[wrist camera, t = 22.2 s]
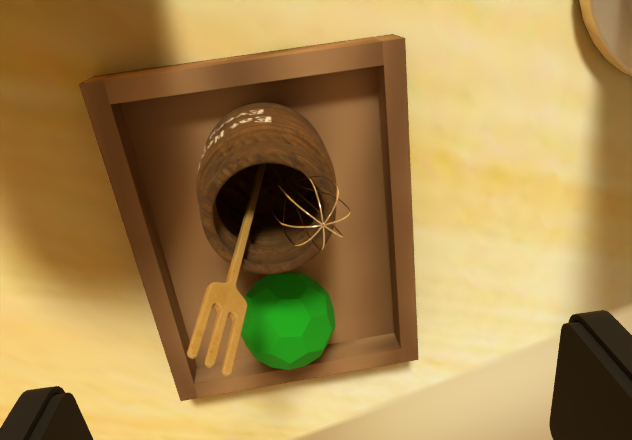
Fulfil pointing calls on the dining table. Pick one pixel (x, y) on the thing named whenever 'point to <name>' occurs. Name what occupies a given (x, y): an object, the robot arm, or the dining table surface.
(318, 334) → the polyhedron
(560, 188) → the dining table surface
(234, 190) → the utensil holder
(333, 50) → the tray
